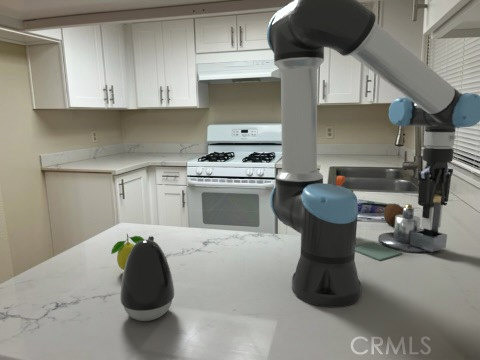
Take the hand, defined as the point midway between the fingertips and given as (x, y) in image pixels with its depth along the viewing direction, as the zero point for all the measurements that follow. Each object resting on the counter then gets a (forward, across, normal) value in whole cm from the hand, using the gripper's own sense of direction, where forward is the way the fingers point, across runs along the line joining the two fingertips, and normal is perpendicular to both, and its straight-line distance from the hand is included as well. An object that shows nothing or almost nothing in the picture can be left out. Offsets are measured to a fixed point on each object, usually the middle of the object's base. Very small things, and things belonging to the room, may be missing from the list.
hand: (430, 227), depth 105 cm
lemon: (+7, -80, +30) cm, 85 cm away
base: (+7, -1, +7) cm, 10 cm away
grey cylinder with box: (+6, -1, +4) cm, 7 cm away
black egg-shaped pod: (+7, -82, +8) cm, 82 cm away
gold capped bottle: (+5, 0, 0) cm, 5 cm away
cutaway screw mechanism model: (+7, -15, +23) cm, 28 cm away
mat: (+7, -15, +7) cm, 18 cm away
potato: (+7, +13, +21) cm, 26 cm away
